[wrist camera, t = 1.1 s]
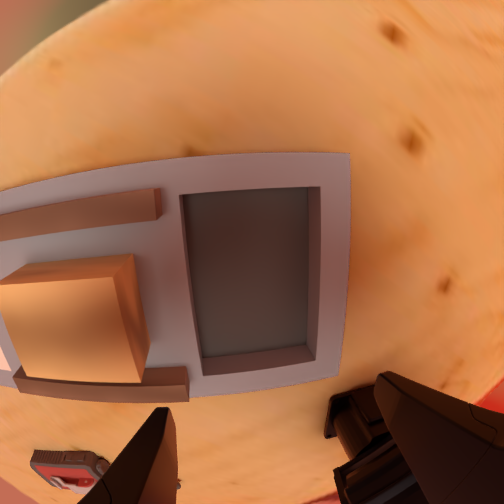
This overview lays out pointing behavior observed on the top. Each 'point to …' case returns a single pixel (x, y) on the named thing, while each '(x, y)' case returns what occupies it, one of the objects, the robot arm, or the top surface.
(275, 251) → the deck
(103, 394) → the channel
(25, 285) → the block
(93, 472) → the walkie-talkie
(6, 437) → the top surface
